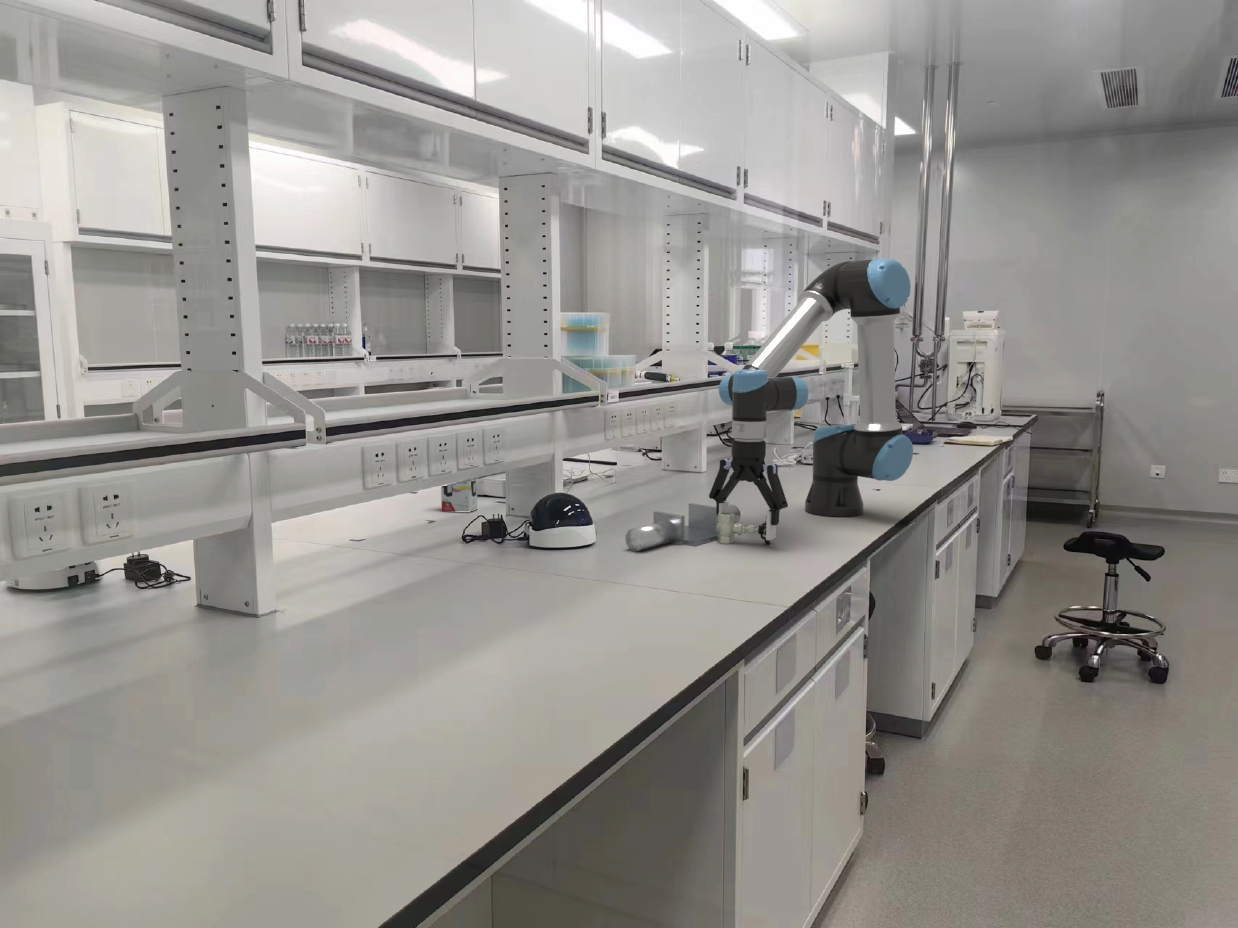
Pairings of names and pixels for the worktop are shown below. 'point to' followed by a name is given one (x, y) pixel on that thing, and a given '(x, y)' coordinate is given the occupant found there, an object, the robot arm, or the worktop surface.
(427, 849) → the worktop surface
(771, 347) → the robot arm
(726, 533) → the valve
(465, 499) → the ink box
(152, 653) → the worktop surface
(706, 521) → the pipe run
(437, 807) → the worktop surface
